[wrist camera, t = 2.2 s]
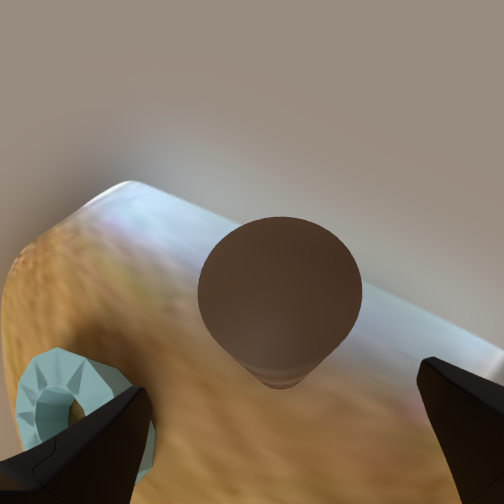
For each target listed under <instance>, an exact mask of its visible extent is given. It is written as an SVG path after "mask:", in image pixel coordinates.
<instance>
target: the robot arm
mask: <svg viewBox="0 0 504 504" xmlns="http://www.w3.org/2000/svg"><path fill="white" fill-rule="evenodd" d="M417 386H418V389H419V391H420V394H421V397H422V400H423V403H424V406H425V409H426V412H427V415H428V418H429V420H430V423H431V425H432V427H433V430H434V432H435V434H436V436H437V439H438V441H439V443H440V446H441V448H442V451H443V453H444V456H445V458H446V461H447V463H448V466H449V468H450V471H451V473H452V476H453V479H454V482H455V484H456V487H457V490H458V493H459V496H460V499H461V502H462V504H504V386H502V385H499V384H497V383H494V382H492V381H489V380H487V379H485V378H482V377H480V376H478V375H475V374H473V373H471V372H468V371H466V370H464V369H461V368H459V367H457V366H454V365H452V364H450V363H447V362H445V361H443V360H440V359H438V358H436V357H429V358H425V359H423V360H422V361H421V364H420V368H419V371H418V375H417ZM152 410H153V407H152V403H151V400H150V398H149V396H148V394H147V392H146V389H145V388H144V387H142V386H131V387H129V388H128V389H126V390H125V391H123V392H122V393H120V394H119V395H117V396H116V397H114V398H113V399H111V400H110V401H108V402H107V403H105V404H104V405H102V406H101V407H99V408H98V409H96V410H95V411H93V412H91V413H90V414H88V415H87V416H85V417H84V418H82V419H80V420H79V421H77V422H76V423H74V424H72V425H71V426H69V427H68V428H66V429H64V430H63V431H61V432H60V433H58V434H57V435H54V436H53V437H51V438H50V439H48V440H46V441H44V442H43V443H41V444H39V445H37V446H35V447H33V448H31V449H29V450H27V451H24V452H22V453H20V454H18V455H15V456H13V457H11V458H8V459H6V460H3V461H0V504H130V500H131V497H132V493H133V489H134V486H135V482H136V479H137V475H138V472H139V468H140V465H141V461H142V458H143V455H144V451H145V447H146V443H147V438H148V432H149V426H150V421H151V415H152Z"/></svg>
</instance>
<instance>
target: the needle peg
mask: <svg viewBox="0 0 504 504" xmlns="http://www.w3.org/2000/svg"><path fill="white" fill-rule="evenodd" d="M361 301H362V282H361V276H360V273H359V269H358V267H357V264H356V262H355V260H354V258H353V256H352V255H351V253H350V251H349V250H348V249H347V247H346V246H345V245H344V244H343V243H342V242H341V241H340V240H339V239H338V238H337V237H336V236H335V235H333V234H332V233H331V232H330V231H328V230H326V229H324V228H323V227H321V226H319V225H317V224H315V223H312V222H309V221H306V220H303V219H297V218H292V217H270V218H264V219H260V220H256V221H253V222H250V223H247V224H245V225H243V226H241V227H239V228H237V229H235V230H234V231H232V232H231V233H229V234H228V235H227V236H225V237H224V238H223V239H222V240H221V241H220V242H219V243H218V244H217V245H216V246H215V247H214V249H213V250H212V251H211V253H210V254H209V256H208V258H207V259H206V261H205V263H204V266H203V268H202V270H201V274H200V278H199V284H198V303H199V309H200V312H201V316H202V319H203V321H204V323H205V325H206V327H207V329H208V331H209V332H210V334H211V335H212V337H213V338H214V339H215V340H216V341H217V342H218V343H219V345H220V346H221V347H222V348H224V349H225V350H226V351H227V352H228V353H229V354H230V355H231V356H232V357H233V358H234V359H236V360H237V361H238V362H239V363H240V364H241V365H242V366H243V367H244V368H246V369H247V370H248V371H249V372H250V373H251V374H252V375H254V376H255V377H256V378H257V379H258V380H259V381H261V382H262V383H263V384H264V385H266V386H268V387H270V388H274V389H286V388H290V387H292V386H294V385H296V384H297V383H298V382H300V381H301V380H302V379H303V378H304V377H305V376H306V375H308V374H309V373H310V372H311V371H312V370H313V369H314V368H315V367H316V366H318V365H319V364H320V363H321V362H322V361H323V360H324V359H325V358H326V357H327V356H328V355H329V354H330V353H331V352H332V351H333V350H334V349H336V348H337V347H338V346H339V345H340V343H341V342H342V341H343V340H344V339H345V338H346V337H347V335H348V334H349V332H350V331H351V329H352V328H353V326H354V324H355V322H356V320H357V317H358V314H359V311H360V307H361Z"/></svg>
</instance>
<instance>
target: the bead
mask: <svg viewBox="0 0 504 504" xmlns="http://www.w3.org/2000/svg"><path fill="white" fill-rule="evenodd" d="M131 386H133V385H132V384H131V383H130V382H129V381H128V380H127V379H126V378H125V376H124V375H123V374H122V373H121V372H120V371H119V370H118V369H117V368H115V367H112V366H108V365H105V364H102V363H99V362H96V361H94V360H91V359H88V358H85V357H82V356H79V355H77V354H74V353H71V352H68V351H66V350H63V349H60V348H58V347H57V348H54V349H52V350H49V351H47V352H45V353H42V354H40V355H37V356H35V357H33V359H32V360H31V362H30V364H29V365H28V367H27V368H26V370H25V372H24V373H23V375H22V377H21V378H20V380H19V384H18V391H17V400H16V411H15V415H16V420H17V424H18V428H19V432H20V436H21V440H22V443H23V447H24V450H25V451H27V450H29V449H31V448H33V447H35V446H37V445H39V444H41V443H43V442H44V441H46V440H48V439H50V438H51V437H53V436H54V435H57V434H58V433H60V432H61V431H63V430H64V429H66V428H68V427H69V425H68V416H69V408H70V406H71V404H72V403H73V402H74V400H75V399H76V400H77V401H78V403H79V404H80V405H81V407H82V408H83V409H84V412H85V416H87V415H88V414H90V413H91V412H93V411H95V410H96V409H98V408H99V407H101V406H102V405H104V404H105V403H107V402H108V401H110V400H111V399H113V398H114V397H116V396H117V395H119V394H120V393H122V392H123V391H125V390H126V389H128V388H129V387H131ZM155 434H156V431H155V429H154V426H153V424H152V421H150V426H149V432H148V438H147V443H146V447H145V451H144V455H143V458H142V461H141V465H140V468H139V472H138V475H137V479H136V482H135V485H136V484H137V483H138V482H139V481H140V480H141V479H142V477H143V476H144V475H145V474H146V473H147V472H148V471H149V470H150V469H151V468H152V463H153V453H154V443H155Z"/></svg>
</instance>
